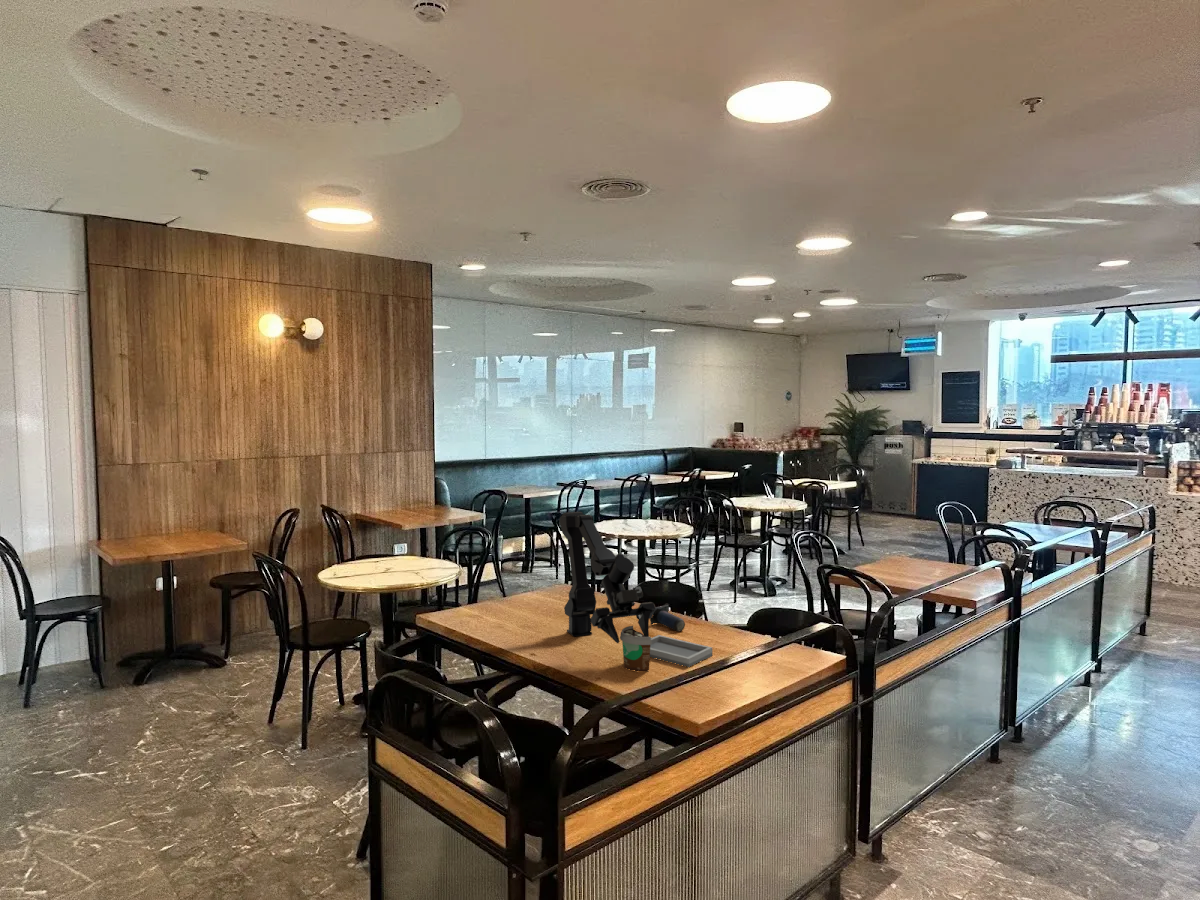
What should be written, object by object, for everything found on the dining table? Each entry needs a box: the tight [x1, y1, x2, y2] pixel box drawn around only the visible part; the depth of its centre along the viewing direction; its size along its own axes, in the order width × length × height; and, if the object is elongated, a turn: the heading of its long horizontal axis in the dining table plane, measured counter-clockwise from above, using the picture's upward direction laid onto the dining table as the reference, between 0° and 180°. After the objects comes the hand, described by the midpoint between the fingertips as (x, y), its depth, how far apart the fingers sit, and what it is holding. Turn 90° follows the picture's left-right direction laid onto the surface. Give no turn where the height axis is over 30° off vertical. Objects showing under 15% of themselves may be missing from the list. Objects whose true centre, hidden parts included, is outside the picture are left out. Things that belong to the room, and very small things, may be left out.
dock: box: [650, 634, 713, 668], centre depth 217 cm, size 13×19×2 cm
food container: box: [619, 625, 652, 672], centre depth 206 cm, size 12×6×10 cm, turn 23°
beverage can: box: [649, 603, 686, 632], centre depth 245 cm, size 9×8×12 cm
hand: (633, 640), depth 205 cm, fingers open, 9 cm apart
